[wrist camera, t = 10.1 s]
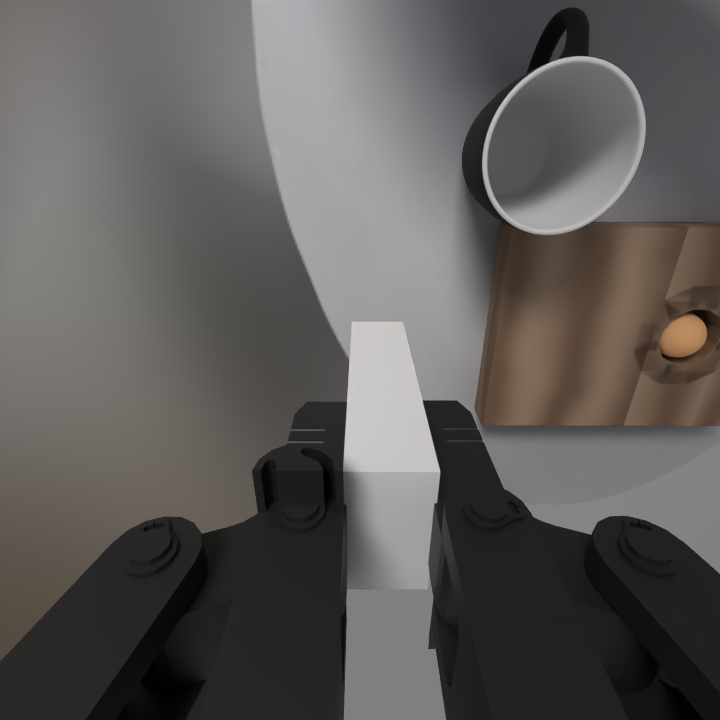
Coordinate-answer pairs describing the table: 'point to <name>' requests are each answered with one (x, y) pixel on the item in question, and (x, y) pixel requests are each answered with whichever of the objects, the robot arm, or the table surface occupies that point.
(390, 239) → the table surface
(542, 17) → the table surface
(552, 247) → the wooden board
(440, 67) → the table surface
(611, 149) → the mug
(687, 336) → the ball
